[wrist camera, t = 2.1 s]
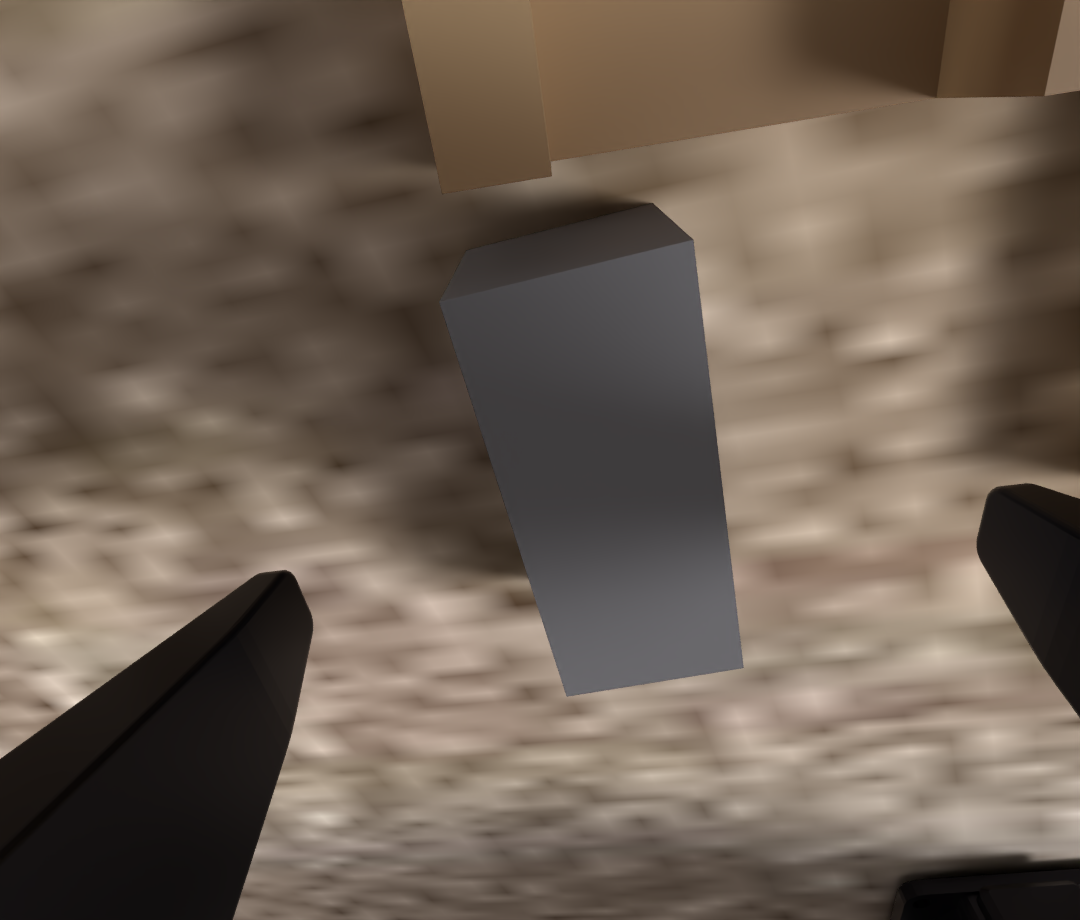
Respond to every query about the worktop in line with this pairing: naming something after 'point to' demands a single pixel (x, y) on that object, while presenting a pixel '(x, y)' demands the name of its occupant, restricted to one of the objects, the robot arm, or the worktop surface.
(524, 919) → the worktop surface
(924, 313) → the worktop surface
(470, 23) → the slot board
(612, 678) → the tall grey block
